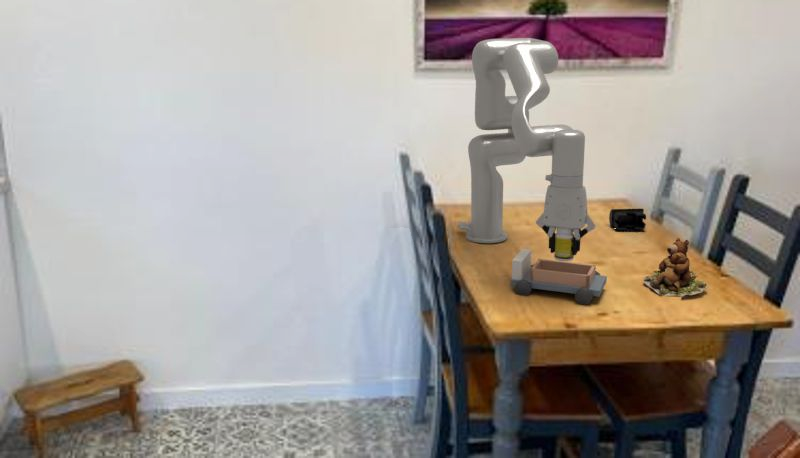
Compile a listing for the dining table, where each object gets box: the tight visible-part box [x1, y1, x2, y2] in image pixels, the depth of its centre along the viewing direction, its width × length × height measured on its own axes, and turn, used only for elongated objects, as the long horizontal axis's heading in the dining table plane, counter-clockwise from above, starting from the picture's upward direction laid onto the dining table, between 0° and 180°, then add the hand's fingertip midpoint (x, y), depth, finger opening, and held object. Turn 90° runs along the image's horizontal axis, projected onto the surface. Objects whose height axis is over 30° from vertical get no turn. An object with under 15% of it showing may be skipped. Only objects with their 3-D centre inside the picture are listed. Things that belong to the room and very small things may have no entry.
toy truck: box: [509, 248, 608, 306], centre depth 194 cm, size 22×14×8 cm, turn 67°
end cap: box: [608, 208, 647, 233], centre depth 244 cm, size 10×7×7 cm
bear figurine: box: [643, 237, 708, 298], centre depth 195 cm, size 14×15×12 cm
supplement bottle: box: [553, 228, 575, 262], centre depth 191 cm, size 5×5×8 cm
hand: (564, 251), depth 192 cm, fingers closed on supplement bottle, 4 cm apart
